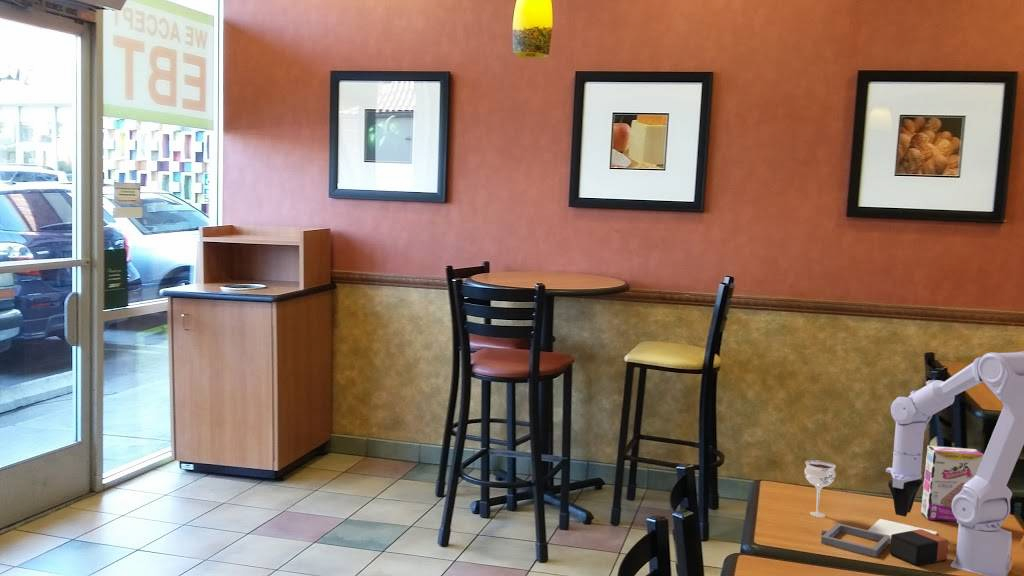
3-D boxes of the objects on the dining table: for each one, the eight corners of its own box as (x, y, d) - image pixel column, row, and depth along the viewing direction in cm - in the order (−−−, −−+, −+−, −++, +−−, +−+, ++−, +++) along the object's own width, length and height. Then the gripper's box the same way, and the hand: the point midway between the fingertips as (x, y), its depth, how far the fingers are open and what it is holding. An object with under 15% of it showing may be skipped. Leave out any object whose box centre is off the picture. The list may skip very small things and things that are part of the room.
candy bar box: (927, 520, 202) (933, 450, 201) (920, 513, 207) (925, 444, 206) (979, 524, 201) (985, 453, 200) (969, 517, 206) (975, 448, 205)
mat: (937, 533, 194) (937, 531, 194) (924, 548, 184) (924, 546, 184) (879, 520, 201) (879, 518, 201) (865, 534, 191) (865, 532, 191)
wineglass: (799, 517, 201) (803, 465, 200) (802, 508, 207) (806, 458, 206) (831, 522, 198) (835, 470, 197) (833, 513, 204) (837, 462, 203)
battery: (888, 554, 180) (921, 547, 184) (917, 566, 174) (950, 559, 178) (890, 533, 180) (923, 527, 184) (918, 545, 174) (952, 538, 178)
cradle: (890, 542, 187) (890, 535, 187) (876, 557, 178) (876, 550, 178) (830, 528, 194) (830, 521, 194) (813, 541, 185) (814, 534, 185)
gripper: (896, 442, 199) (892, 501, 200) (879, 454, 188) (874, 517, 189) (930, 448, 195) (925, 508, 196) (915, 461, 183) (910, 525, 184)
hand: (902, 513), depth 192 cm, fingers open, 3 cm apart
